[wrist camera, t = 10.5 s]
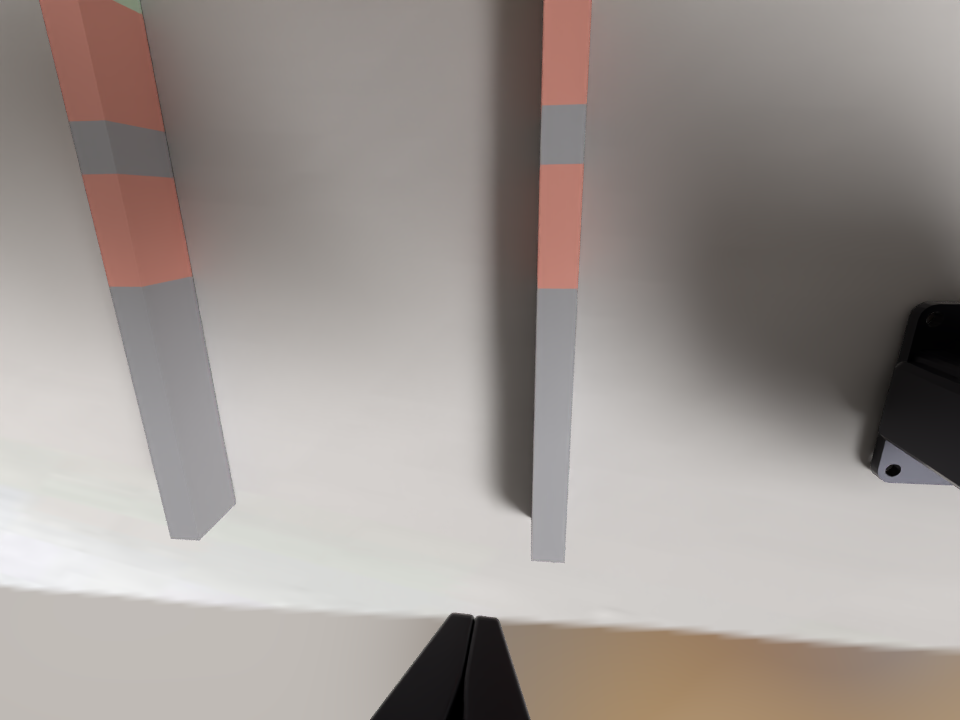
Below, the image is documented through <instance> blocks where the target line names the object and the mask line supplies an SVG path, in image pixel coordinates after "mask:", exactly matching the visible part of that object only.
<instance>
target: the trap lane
mask: <svg viewBox="0 0 960 720" xmlns="http://www.w3.org/2000/svg"><path fill="white" fill-rule="evenodd" d="M39 2H40V6H41V10H42V14H43V18H44V22H45V26H46V30H47V34H48V38H49V42H50V47H51V51H52V55H53V59H54V63H55V67H56V71H57V75H58V79H59V83H60V87H61V92H62V96H63V100H64V104H65V108H66V112H67V116H68V120H69V124H70V128H71V132H72V136H73V141H74V145H75V149H76V153H77V157H78V161H79V165H80V169H81V173H82V177H83V181H84V186H85V190H86V194H87V198H88V202H89V206H90V210H91V214H92V218H93V222H94V226H95V230H96V235H97V239H98V243H99V247H100V251H101V255H102V259H103V263H104V267H105V271H106V275H107V280H108V284H109V288H110V292H111V296H112V300H113V304H114V308H115V312H116V316H117V320H118V324H119V329H120V333H121V337H122V341H123V345H124V349H125V353H126V357H127V361H128V365H129V369H130V374H131V378H132V382H133V386H134V390H135V394H136V398H137V402H138V406H139V410H140V414H141V419H142V423H143V427H144V431H145V435H146V439H147V443H148V447H149V451H150V455H151V459H152V463H153V468H154V472H155V476H156V480H157V484H158V488H159V492H160V496H161V500H162V504H163V508H164V513H165V517H166V521H167V525H168V529H169V533H170V537H171V539H185V540H200V539H201V538H202V537H203V536H204V535H205V534H206V533H207V532H208V531H209V530H210V529H211V528H212V527H213V526H214V525H215V524H216V523H217V522H218V521H219V520H220V519H221V518H222V517H223V516H224V515H225V514H226V513H227V512H228V511H229V510H230V509H231V508H232V507H233V506H234V505H235V504H236V501H235V496H234V490H233V485H232V480H231V475H230V469H229V464H228V459H227V454H226V449H225V443H224V438H223V433H222V428H221V422H220V417H219V412H218V407H217V401H216V396H215V391H214V386H213V381H212V375H211V370H210V365H209V360H208V354H207V349H206V344H205V339H204V334H203V328H202V323H201V318H200V313H199V307H198V302H197V297H196V292H195V286H194V281H193V276H192V271H191V266H190V260H189V255H188V250H187V245H186V239H185V234H184V229H183V224H182V219H181V213H180V208H179V203H178V198H177V192H176V187H175V182H174V177H173V171H172V166H171V161H170V156H169V151H168V145H167V140H166V135H165V130H164V124H163V119H162V114H161V109H160V104H159V98H158V93H157V88H156V83H155V77H154V72H153V67H152V62H151V56H150V51H149V46H148V41H147V36H146V30H145V25H144V20H143V15H142V9H141V4H140V0H39ZM591 5H592V0H543V38H542V81H541V125H540V169H539V212H538V256H537V300H536V343H535V387H534V431H533V474H532V518H531V561H542V562H559V563H564V561H565V541H566V520H567V500H568V479H569V458H570V438H571V417H572V397H573V376H574V355H575V335H576V314H577V294H578V273H579V252H580V232H581V211H582V191H583V170H584V150H585V129H586V108H587V88H588V67H589V47H590V26H591Z"/></svg>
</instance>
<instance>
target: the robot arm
mask: <svg viewBox="0 0 960 720" xmlns="http://www.w3.org/2000/svg"><path fill="white" fill-rule="evenodd" d="M933 312H934V318H933V320H932V321H931V322H929V323H927V322H926V319H927V317H928V316H929V315H930V314H931V313H933ZM878 431H879V434H878V438H877V442H876V446H875V450H874V454H873V457H872V461H871V470H872V472H873V473H874V474H875V475H876V476H877V477H879V478H880V479H881V480H883V481H884V482H889V483H909V484H933V485H954V486H955V487H957V488H958V489H960V302H924V303H922V304H920V305H918V306H916V307H915V308H914V309H913V310H912V312H911V314H910V316H909V319H908V323H907V327H906V331H905V335H904V338H903V342H902V346H901V350H900V354H899V358H898V362H897V365H896V367H895V369H894V372H893V376H892V380H891V384H890V388H889V391H888V395H887V399H886V403H885V407H884V411H883V415H882V418H881V422H880V426H879V430H878ZM892 464H893V466H892V468H891V469H889V470H887V471H885V470H886V468H887V467H888V466H889V465H892ZM370 720H531V719H530V716H529V713H528V710H527V707H526V704H525V701H524V697H523V694H522V691H521V688H520V684H519V681H518V678H517V675H516V672H515V669H514V665H513V662H512V659H511V656H510V653H509V650H508V646H507V644H506V640H505V637H504V634H503V631H502V627H501V624H500V622H499V620H498V619H497V618H494V617H486V616H477V617H476V618H475V619H474V617H473V616H472V615H470V614H462V613H452V614H450V615H449V616H448V618H447V619H446V620H445V622H444V623H443V624H442V626H441V627H440V628H439V630H438V631H437V632H436V634H435V635H434V636H433V637H432V639H431V640H430V641H429V643H428V644H427V646H426V647H425V648H424V649H423V651H422V652H421V653H420V655H419V656H418V657H417V659H416V660H415V661H414V662H413V664H412V665H411V667H410V668H409V669H408V670H407V672H406V673H405V674H404V676H403V677H402V678H401V680H400V681H399V683H398V684H397V685H396V686H395V687H394V689H393V690H392V691H391V693H390V694H389V695H388V697H387V698H386V699H385V701H384V702H383V703H382V705H381V706H380V707H379V709H378V710H377V711H376V712H375V714H374V715H373V716H372V718H371V719H370Z"/></svg>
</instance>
